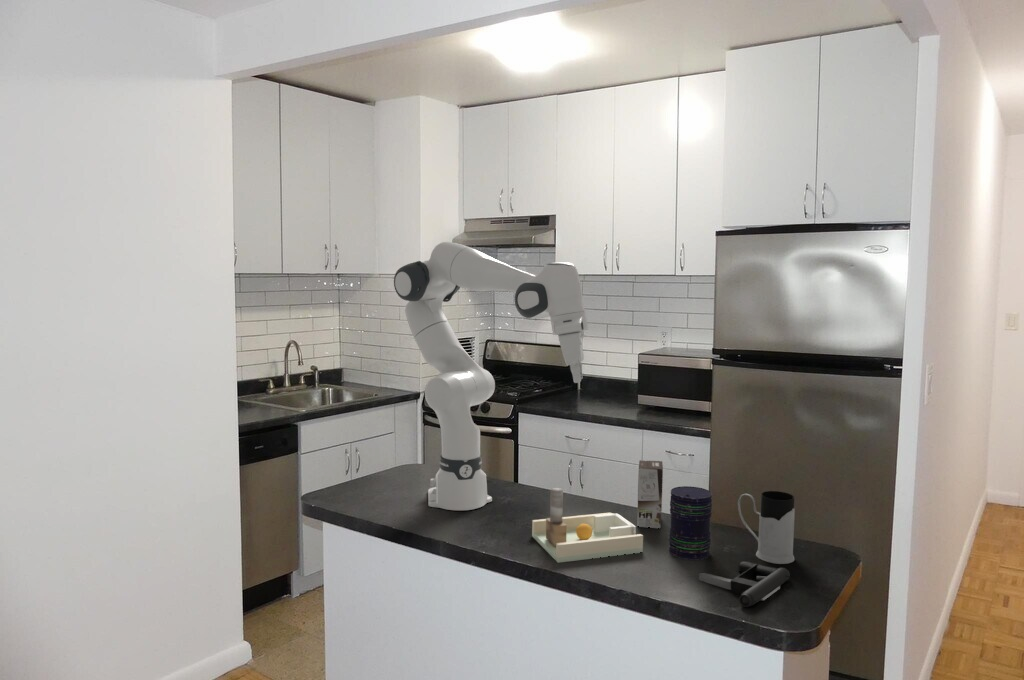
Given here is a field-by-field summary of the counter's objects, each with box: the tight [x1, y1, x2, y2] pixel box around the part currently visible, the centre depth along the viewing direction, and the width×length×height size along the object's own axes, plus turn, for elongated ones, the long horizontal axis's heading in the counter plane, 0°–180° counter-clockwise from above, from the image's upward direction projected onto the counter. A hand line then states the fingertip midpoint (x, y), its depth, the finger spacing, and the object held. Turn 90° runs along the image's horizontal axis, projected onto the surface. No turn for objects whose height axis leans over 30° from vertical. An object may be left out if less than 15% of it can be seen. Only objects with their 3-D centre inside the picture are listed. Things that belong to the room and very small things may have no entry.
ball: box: [576, 524, 592, 540], centre depth 186 cm, size 4×4×4 cm
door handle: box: [698, 560, 791, 608], centre depth 163 cm, size 3×20×16 cm
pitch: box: [531, 512, 644, 564], centre depth 186 cm, size 18×22×5 cm
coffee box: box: [636, 459, 664, 529], centre depth 202 cm, size 9×6×16 cm
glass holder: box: [737, 490, 796, 565], centre depth 181 cm, size 9×14×15 cm, turn 48°
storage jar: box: [668, 485, 713, 561], centre depth 181 cm, size 10×10×15 cm
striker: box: [545, 487, 567, 547], centre depth 183 cm, size 6×3×13 cm, turn 18°
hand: (578, 381), depth 186 cm, fingers open, 8 cm apart
